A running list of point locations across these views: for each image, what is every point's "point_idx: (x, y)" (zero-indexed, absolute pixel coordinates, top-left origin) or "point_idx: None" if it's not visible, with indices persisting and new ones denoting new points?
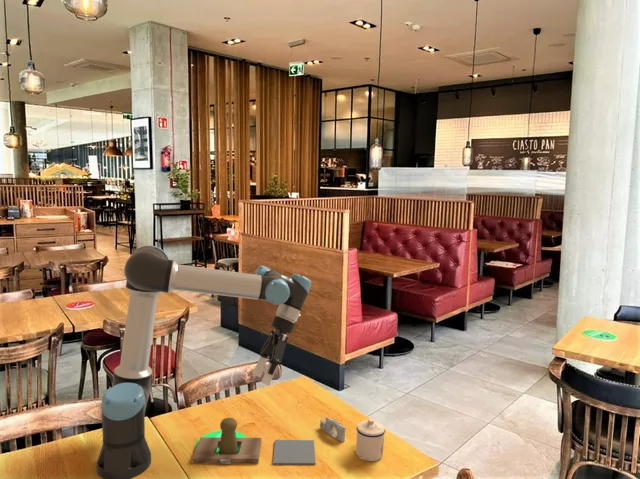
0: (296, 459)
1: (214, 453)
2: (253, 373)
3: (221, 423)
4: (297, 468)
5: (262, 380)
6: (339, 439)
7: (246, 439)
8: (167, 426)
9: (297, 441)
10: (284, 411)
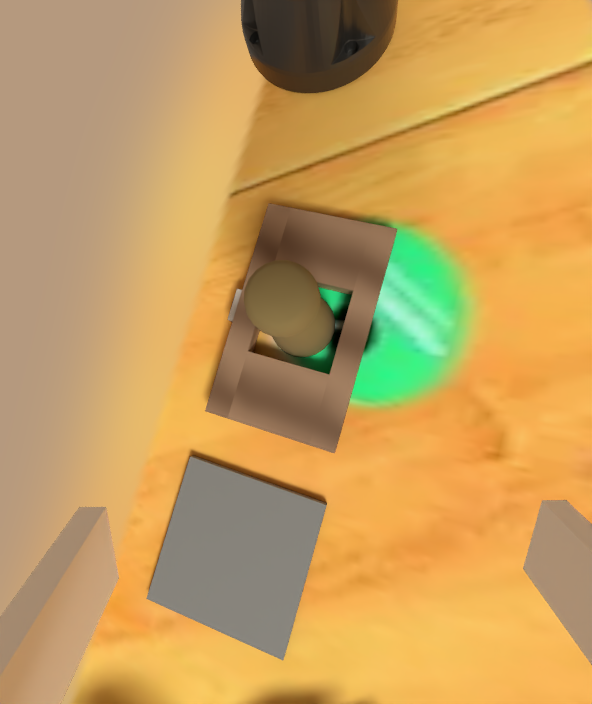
0: (183, 541)
1: None
2: (556, 511)
3: (274, 261)
4: (151, 527)
5: (70, 526)
6: None
7: (337, 394)
8: (545, 118)
9: (292, 589)
10: None
